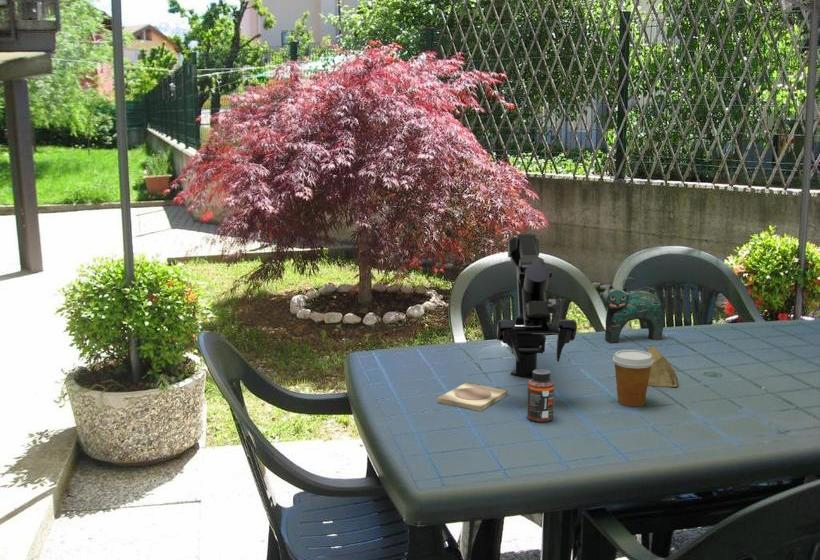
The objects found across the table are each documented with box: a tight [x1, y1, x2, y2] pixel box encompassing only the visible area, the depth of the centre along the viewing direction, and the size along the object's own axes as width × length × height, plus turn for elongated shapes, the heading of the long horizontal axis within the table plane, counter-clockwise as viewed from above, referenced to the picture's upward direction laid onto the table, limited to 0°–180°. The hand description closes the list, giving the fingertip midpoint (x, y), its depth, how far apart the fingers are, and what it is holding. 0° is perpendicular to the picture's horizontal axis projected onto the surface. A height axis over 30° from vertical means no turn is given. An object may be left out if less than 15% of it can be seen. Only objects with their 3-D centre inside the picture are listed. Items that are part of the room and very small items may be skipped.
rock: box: [646, 346, 679, 388], centre depth 224 cm, size 10×8×10 cm
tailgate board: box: [436, 382, 509, 412], centre depth 215 cm, size 15×12×1 cm
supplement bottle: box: [526, 368, 555, 423], centre depth 200 cm, size 6×6×11 cm
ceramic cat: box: [602, 277, 666, 344], centre depth 267 cm, size 20×6×20 cm, turn 102°
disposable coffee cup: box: [612, 349, 653, 407], centre depth 210 cm, size 10×10×12 cm
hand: (538, 360), depth 205 cm, fingers open, 9 cm apart
